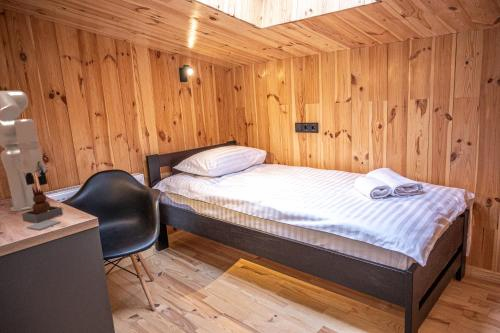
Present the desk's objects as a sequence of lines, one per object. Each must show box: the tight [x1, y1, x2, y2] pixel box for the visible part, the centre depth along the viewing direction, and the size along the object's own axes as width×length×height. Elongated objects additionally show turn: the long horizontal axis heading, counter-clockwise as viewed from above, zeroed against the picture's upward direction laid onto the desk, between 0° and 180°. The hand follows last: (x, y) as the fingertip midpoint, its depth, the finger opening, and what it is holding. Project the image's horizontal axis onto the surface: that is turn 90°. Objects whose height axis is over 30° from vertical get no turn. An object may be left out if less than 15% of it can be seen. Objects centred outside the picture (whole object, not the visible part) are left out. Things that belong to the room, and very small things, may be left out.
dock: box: [21, 205, 64, 224], centre depth 149 cm, size 11×12×4 cm
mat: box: [26, 219, 62, 231], centre depth 138 cm, size 9×9×1 cm
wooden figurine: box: [31, 186, 51, 215], centre depth 148 cm, size 7×6×15 cm
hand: (37, 184), depth 146 cm, fingers open, 9 cm apart
